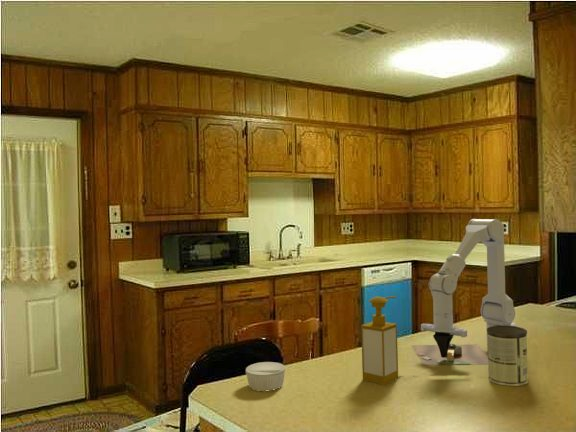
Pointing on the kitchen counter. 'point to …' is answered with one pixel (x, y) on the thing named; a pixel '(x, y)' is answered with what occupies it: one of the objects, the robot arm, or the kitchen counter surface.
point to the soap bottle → (379, 347)
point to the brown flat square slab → (469, 356)
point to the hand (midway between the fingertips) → (444, 356)
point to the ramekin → (265, 375)
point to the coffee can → (507, 355)
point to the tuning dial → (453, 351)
